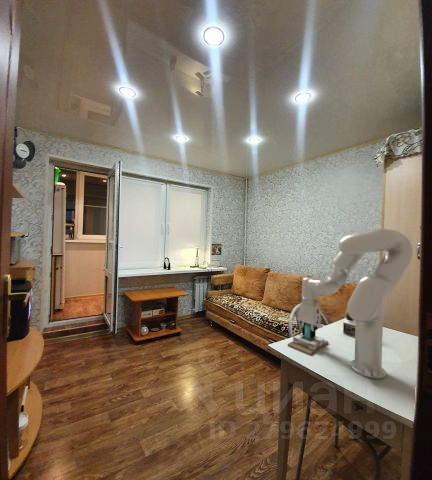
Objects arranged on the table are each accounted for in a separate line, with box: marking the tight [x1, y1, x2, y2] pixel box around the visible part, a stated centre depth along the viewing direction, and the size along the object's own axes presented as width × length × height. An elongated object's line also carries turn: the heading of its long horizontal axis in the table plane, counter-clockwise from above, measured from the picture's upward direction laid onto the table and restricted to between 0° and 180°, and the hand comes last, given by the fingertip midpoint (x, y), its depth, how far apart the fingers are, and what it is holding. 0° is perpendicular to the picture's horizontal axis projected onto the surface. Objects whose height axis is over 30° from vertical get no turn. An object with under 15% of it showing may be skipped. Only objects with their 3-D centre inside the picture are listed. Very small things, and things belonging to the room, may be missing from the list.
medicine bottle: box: [342, 312, 356, 338], centre depth 131 cm, size 7×7×12 cm
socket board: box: [287, 332, 329, 356], centre depth 117 cm, size 20×12×4 cm, turn 131°
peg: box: [304, 323, 313, 341], centre depth 117 cm, size 4×4×8 cm
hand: (308, 335), depth 117 cm, fingers closed on peg, 3 cm apart
